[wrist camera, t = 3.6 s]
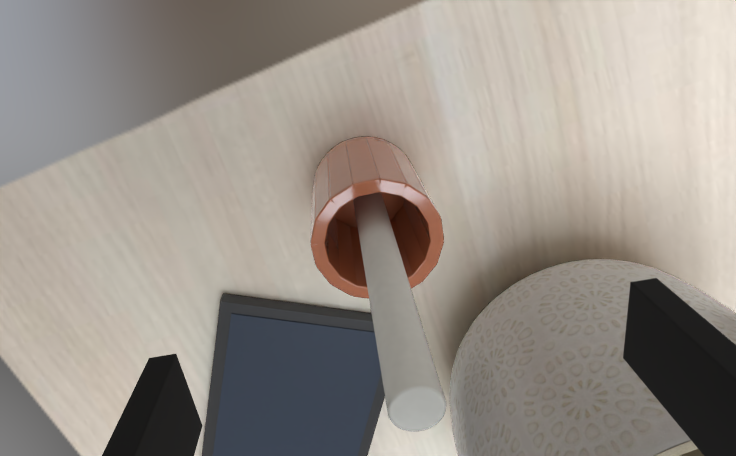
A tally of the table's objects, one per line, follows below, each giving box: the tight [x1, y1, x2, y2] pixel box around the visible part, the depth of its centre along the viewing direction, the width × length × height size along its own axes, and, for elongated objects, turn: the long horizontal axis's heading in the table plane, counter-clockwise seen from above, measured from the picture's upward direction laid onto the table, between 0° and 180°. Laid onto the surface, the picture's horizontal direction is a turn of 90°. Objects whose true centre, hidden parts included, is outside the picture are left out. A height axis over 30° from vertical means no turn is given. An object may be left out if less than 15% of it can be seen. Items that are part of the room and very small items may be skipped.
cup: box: [310, 137, 444, 299], centre depth 25 cm, size 6×6×7 cm
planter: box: [450, 259, 736, 456], centre depth 27 cm, size 17×17×15 cm
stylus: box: [353, 192, 446, 431], centre depth 20 cm, size 2×2×16 cm
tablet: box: [202, 294, 385, 456], centre depth 34 cm, size 11×17×1 cm, turn 168°
